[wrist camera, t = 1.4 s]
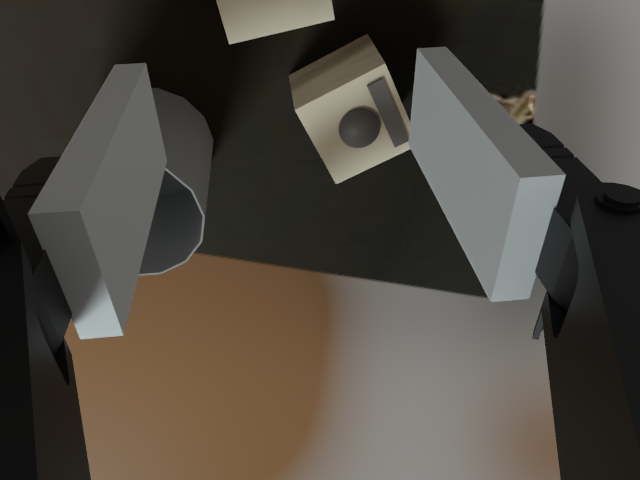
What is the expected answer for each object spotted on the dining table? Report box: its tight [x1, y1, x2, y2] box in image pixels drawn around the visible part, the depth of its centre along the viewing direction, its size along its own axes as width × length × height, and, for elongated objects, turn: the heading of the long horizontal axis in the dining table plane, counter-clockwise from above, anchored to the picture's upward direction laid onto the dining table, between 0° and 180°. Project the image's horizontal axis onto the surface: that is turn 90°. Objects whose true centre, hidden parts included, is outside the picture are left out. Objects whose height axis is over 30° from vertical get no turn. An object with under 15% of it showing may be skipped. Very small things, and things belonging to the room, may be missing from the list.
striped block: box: [289, 34, 411, 184], centre depth 36 cm, size 6×6×6 cm
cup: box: [138, 88, 214, 276], centre depth 35 cm, size 8×8×10 cm
